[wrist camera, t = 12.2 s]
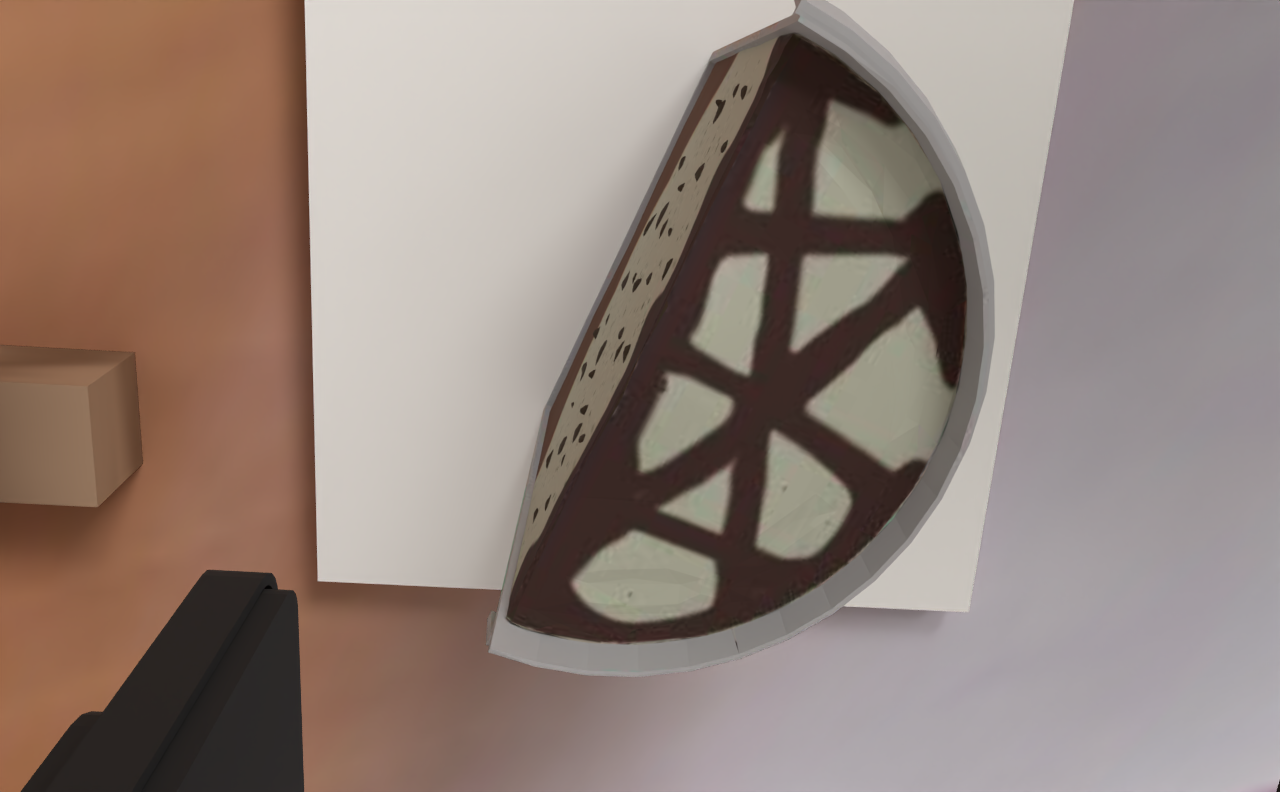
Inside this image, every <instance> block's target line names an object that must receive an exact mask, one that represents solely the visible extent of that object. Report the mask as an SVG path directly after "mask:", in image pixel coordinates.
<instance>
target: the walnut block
mask: <svg viewBox="0 0 1280 792" xmlns="http://www.w3.org/2000/svg"><path fill="white" fill-rule="evenodd" d="M142 464H143V456H142V443H141V429H140V415H139V402H138V388H137V374H136V361H135V352H120V351H101V350H83V349H65V348H47V347H28V346H10V345H0V502H4V503H24V504H44V505H64V506H84V507H98V506H99V505H101V504H102V503H103V502H104V501H105V500H106V499H107V498H108V497H109V496H110V495H111V494H112V493H113V492H114V491H115V490H116V489H117V488H118V487H119V486H120V485H121V484H122V483H123V482H124V481H125V480H126V479H127V478H128V477H129V476H130V475H131V474H133V473H134V472H135V471H136V470H137V469H138V468H139V467H140V466H141V465H142Z"/></svg>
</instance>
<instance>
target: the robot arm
mask: <svg viewBox="0 0 1280 792" xmlns="http://www.w3.org/2000/svg"><path fill="white" fill-rule="evenodd" d="M21 792H304V773H303V744H302V714H301V684H300V655H299V625H298V604H297V597H296V594H295V592H294V591H293V590H278V587H277V583H276V579H275V577H274V576H273V574H272V573H259V572H241V571H222V570H207V571H206V572H205V573H204V574H203V575H202V576H201V577H200V578H199V580H198V581H197V583H196V584H195V585H194V587H193V588H192V589H191V591H190V592H189V594H188V595H187V596H186V598H185V599H184V601H183V602H182V603H181V605H180V606H179V607H178V609H177V610H176V612H175V613H174V614H173V616H172V617H171V619H170V620H169V621H168V623H167V624H166V625H165V627H164V628H163V630H162V631H161V632H160V634H159V635H158V636H157V638H156V639H155V641H154V642H153V643H152V645H151V646H150V648H149V649H148V650H147V652H146V653H145V654H144V656H143V657H142V659H141V660H140V661H139V663H138V664H137V666H136V667H135V668H134V670H133V671H132V672H131V674H130V675H129V677H128V678H127V679H126V681H125V682H124V684H123V685H122V686H121V688H120V689H119V690H118V692H117V693H116V695H115V696H114V697H113V699H112V700H111V701H110V703H109V704H108V706H107V707H106V708H105V710H104V711H103V712H94V711H91V712H88V713H85V714H82V715H81V716H80V717H79V718H78V719H77V720H76V721H75V722H74V723H73V724H72V725H71V726H70V727H69V728H68V730H67V731H66V732H65V734H64V735H63V736H62V737H61V739H60V740H59V741H58V743H57V744H56V745H55V747H54V748H53V749H52V751H51V752H50V753H49V755H48V756H47V757H46V759H45V760H44V761H43V763H42V764H41V765H40V767H39V768H38V769H37V771H36V772H35V773H34V775H33V776H32V777H31V779H30V780H29V781H28V783H27V784H26V785H25V787H24V788H23V789H22V791H21ZM1276 792H1280V781H1279V785H1278V788H1277V791H1276Z"/></svg>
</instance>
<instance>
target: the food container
mask: <svg viewBox="0 0 1280 792" xmlns="http://www.w3.org/2000/svg"><path fill="white" fill-rule="evenodd" d="M794 2H795V6H796V8H795V10H794V12H793V14H792V15H791V16H789V17H787V18H785V19H783V20H780V21H778V22H776V23H774V24H772V25H770V26H768V27H765V28H763V29H761V30H759V31H757V32H755V33H752V34H750V35H748V36H746V37H744V38H742V39H740V40H737V41H735V42H733V43H731V44H729V45H727V46H724V47H722V48H720V49H718V50H716V51H714V52H713V53H712V55H711V57H710V59H709V61H708V63H707V65H706V68H705V70H704V72H703V74H702V76H701V78H700V80H699V82H698V84H697V87H696V89H695V91H694V93H693V95H692V97H691V99H690V101H689V104H688V106H687V108H686V110H685V112H684V114H683V116H682V118H681V120H680V123H679V125H678V127H677V129H676V131H675V133H674V135H673V137H672V139H671V142H670V144H669V146H668V148H667V150H666V152H665V154H664V156H663V158H662V161H661V163H660V165H659V167H658V169H657V171H656V173H655V175H654V177H653V180H652V182H651V184H650V186H649V188H648V190H647V192H646V194H645V196H644V199H643V201H642V203H641V205H640V207H639V209H638V211H637V213H636V215H635V218H634V220H633V222H632V224H631V226H630V228H629V230H628V232H627V234H626V237H625V239H624V241H623V243H622V245H621V247H620V249H619V251H618V253H617V256H616V258H615V260H614V262H613V264H612V266H611V268H610V270H609V272H608V275H607V277H606V279H605V281H604V283H603V285H602V287H601V289H600V291H599V294H598V296H597V298H596V300H595V302H594V304H593V306H592V308H591V310H590V313H589V315H588V317H587V319H586V321H585V323H584V325H583V327H582V329H581V332H580V334H579V336H578V338H577V340H576V342H575V344H574V346H573V348H572V351H571V353H570V355H569V357H568V359H567V361H566V363H565V365H564V367H563V370H562V372H561V374H560V376H559V378H558V380H557V382H556V384H555V386H554V389H553V391H552V393H551V395H550V397H549V399H548V401H547V403H546V406H545V408H544V410H543V415H542V419H541V423H540V428H539V432H538V436H537V440H536V445H535V449H534V453H533V458H532V462H531V466H530V470H529V475H528V479H527V483H526V488H525V492H524V496H523V500H522V505H521V509H520V513H519V517H518V522H517V526H516V530H515V535H514V539H513V543H512V547H511V552H510V556H509V560H508V565H507V569H506V573H505V577H504V582H503V586H502V590H501V595H500V599H499V603H498V607H497V612H494V611H491V612H490V614H489V616H488V619H487V635H486V645H488V646H489V649H488V652H489V653H492V654H495V655H499V656H502V657H505V658H508V659H511V660H515V661H518V662H521V663H524V664H528V665H531V666H534V667H539V668H545V669H551V670H557V671H563V672H569V673H575V674H581V675H589V676H621V677H643V676H652V675H662V674H671V673H680V672H690V671H694V670H698V669H702V668H706V667H710V666H714V665H718V664H722V663H726V662H730V661H734V660H738V659H741V658H744V657H746V656H749V655H751V654H754V653H756V652H759V651H761V650H764V649H766V648H769V647H771V646H774V645H776V644H779V643H781V642H784V641H786V640H789V639H790V638H792V637H794V636H796V635H797V634H799V633H801V632H802V631H804V630H806V629H808V628H809V627H811V626H813V625H815V624H816V623H818V622H820V621H822V620H823V619H825V618H827V617H829V616H830V615H832V614H834V613H835V612H836V611H838V610H839V609H840V608H841V607H843V606H844V605H845V604H846V603H848V602H849V601H850V600H852V599H853V598H854V597H855V596H857V595H858V594H859V593H860V592H862V591H863V590H864V589H866V588H867V587H868V586H869V585H871V584H872V583H873V582H875V581H876V580H877V579H878V577H879V576H880V575H881V574H882V573H883V572H884V571H885V570H886V569H887V568H888V567H889V566H890V565H891V564H892V563H893V562H894V561H895V560H896V559H897V558H898V556H899V555H900V554H901V553H902V552H903V551H904V550H905V549H906V548H907V547H908V546H909V545H910V544H911V543H912V541H913V540H914V538H915V537H916V536H917V534H918V533H919V531H920V530H921V528H922V527H923V526H924V524H925V523H926V521H927V520H928V518H929V517H930V516H931V514H932V513H933V511H934V510H935V508H936V507H937V506H938V504H939V503H940V501H941V500H942V498H943V496H944V494H945V492H946V490H947V488H948V486H949V484H950V482H951V480H952V478H953V476H954V474H955V472H956V470H957V469H958V467H959V465H960V463H961V461H962V459H963V457H964V455H965V453H966V451H967V449H968V447H969V445H970V442H971V439H972V436H973V432H974V429H975V426H976V423H977V420H978V417H979V414H980V411H981V407H982V404H983V401H984V398H985V395H986V392H987V385H988V378H989V372H990V365H991V359H992V352H993V346H994V339H995V308H994V277H993V271H992V266H991V260H990V254H989V249H988V243H987V237H986V232H985V226H984V223H983V220H982V217H981V214H980V211H979V208H978V206H977V203H976V200H975V197H974V194H973V191H972V189H971V186H970V183H969V180H968V177H967V174H966V172H965V169H964V167H963V164H962V162H961V160H960V157H959V155H958V153H957V151H956V148H955V147H954V145H953V143H952V141H951V140H950V138H949V136H948V134H947V132H946V131H945V129H944V127H943V125H942V124H941V122H940V120H939V118H938V117H937V115H936V113H935V111H934V110H933V108H932V106H931V104H930V103H929V101H928V99H927V97H926V96H925V95H924V94H923V93H922V91H921V90H920V89H919V88H918V86H917V85H916V84H915V83H914V81H913V80H912V79H911V78H910V76H909V75H908V74H907V73H906V72H905V70H904V69H903V68H902V67H901V65H900V64H899V63H898V62H897V60H896V59H895V58H894V57H893V56H892V54H891V53H890V52H889V51H888V50H887V49H886V48H885V47H883V46H882V45H881V44H880V43H879V42H878V41H877V40H876V39H874V38H873V37H872V36H871V35H870V34H869V33H868V32H866V31H865V30H864V29H863V28H862V27H861V26H860V25H858V24H857V23H856V22H855V21H854V20H853V19H852V18H851V17H849V16H848V15H847V14H846V13H845V12H844V11H842V10H841V9H839V8H837V7H836V6H834V5H833V4H831V3H829V2H828V1H826V0H794Z"/></svg>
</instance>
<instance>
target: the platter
mask: <svg viewBox="0 0 1280 792" xmlns="http://www.w3.org/2000/svg"><path fill="white" fill-rule="evenodd" d="M826 1H828V2H829V3H831V4H833V5H834V6H836V7H837V8H839V9H841V10H842V11H844V12H845V13H846V14H847V15H848V16H849V17H851V18H852V19H853V20H854V21H855V22H856V23H857V24H858V25H860V26H861V27H862V28H863V29H864V30H865V31H866V32H868V33H869V34H870V35H871V36H872V37H873V38H874V39H876V40H877V41H878V42H879V43H880V44H881V45H882V46H883V47H885V48H886V49H887V50H888V51H889V52H890V53H891V54H892V56H893V57H894V58H895V59H896V60H897V62H898V63H899V64H900V65H901V67H902V68H903V69H904V70H905V72H906V73H907V74H908V75H909V76H910V78H911V79H912V80H913V81H914V83H915V84H916V85H917V86H918V88H919V89H920V90H921V91H922V93H923V94H924V95H925V96H926V97H927V99H928V101H929V103H930V104H931V106H932V108H933V110H934V111H935V113H936V115H937V117H938V118H939V120H940V122H941V124H942V125H943V127H944V129H945V131H946V132H947V134H948V136H949V138H950V140H951V141H952V143H953V145H954V147H955V148H956V151H957V153H958V155H959V157H960V160H961V162H962V164H963V167H964V169H965V172H966V174H967V177H968V180H969V183H970V186H971V189H972V191H973V194H974V197H975V200H976V203H977V206H978V208H979V211H980V214H981V217H982V220H983V223H984V226H985V232H986V237H987V243H988V249H989V254H990V260H991V266H992V271H993V277H994V308H995V339H994V346H993V352H992V359H991V365H990V372H989V378H988V385H987V392H986V395H985V398H984V401H983V404H982V407H981V411H980V414H979V417H978V420H977V423H976V426H975V429H974V432H973V436H972V439H971V442H970V445H969V447H968V449H967V451H966V453H965V455H964V457H963V459H962V461H961V463H960V465H959V467H958V469H957V470H956V472H955V474H954V476H953V478H952V480H951V482H950V484H949V486H948V488H947V490H946V492H945V494H944V496H943V498H942V500H941V501H940V503H939V504H938V506H937V507H936V508H935V510H934V511H933V513H932V514H931V516H930V517H929V518H928V520H927V521H926V523H925V524H924V526H923V527H922V528H921V530H920V531H919V533H918V534H917V536H916V537H915V538H914V540H913V541H912V543H911V544H910V545H909V546H908V547H907V548H906V549H905V550H904V551H903V552H902V553H901V554H900V555H899V556H898V558H897V559H896V560H895V561H894V562H893V563H892V564H891V565H890V566H889V567H888V568H887V569H886V570H885V571H884V572H883V573H882V574H881V575H880V576H879V577H878V579H877V580H876V581H875V582H873V583H872V584H871V585H869V586H868V587H867V588H866V589H864V590H863V591H862V592H860V593H859V594H858V595H857V596H855V597H854V598H853V599H852V600H850V601H849V602H848V603H846V604H845V605H844V606H846V607H867V608H888V609H909V610H930V611H951V612H969V609H970V603H971V597H972V591H973V585H974V579H975V574H976V568H977V562H978V556H979V550H980V545H981V539H982V533H983V527H984V521H985V516H986V510H987V504H988V498H989V492H990V487H991V481H992V475H993V469H994V463H995V457H996V452H997V446H998V440H999V434H1000V428H1001V423H1002V417H1003V411H1004V405H1005V399H1006V394H1007V388H1008V382H1009V376H1010V370H1011V365H1012V359H1013V353H1014V347H1015V341H1016V335H1017V330H1018V324H1019V318H1020V312H1021V306H1022V301H1023V295H1024V289H1025V283H1026V277H1027V272H1028V266H1029V260H1030V254H1031V248H1032V243H1033V237H1034V231H1035V225H1036V219H1037V213H1038V208H1039V202H1040V196H1041V190H1042V184H1043V179H1044V173H1045V167H1046V161H1047V155H1048V150H1049V144H1050V138H1051V132H1052V126H1053V120H1054V115H1055V109H1056V103H1057V97H1058V91H1059V86H1060V80H1061V74H1062V68H1063V62H1064V57H1065V51H1066V45H1067V39H1068V33H1069V28H1070V22H1071V16H1072V10H1073V4H1074V0H826ZM795 8H796V6H795V2H794V0H305V37H306V82H307V126H308V170H309V214H310V258H311V302H312V346H313V390H314V434H315V479H316V523H317V567H318V581H325V582H346V583H367V584H388V585H409V586H430V587H450V588H471V589H492V590H502V586H503V582H504V577H505V573H506V569H507V565H508V560H509V556H510V552H511V547H512V543H513V539H514V535H515V530H516V526H517V522H518V517H519V513H520V509H521V505H522V500H523V496H524V492H525V488H526V483H527V479H528V475H529V470H530V466H531V462H532V458H533V453H534V449H535V445H536V440H537V436H538V432H539V428H540V423H541V419H542V415H543V410H544V408H545V406H546V403H547V401H548V399H549V397H550V395H551V393H552V391H553V389H554V386H555V384H556V382H557V380H558V378H559V376H560V374H561V372H562V370H563V367H564V365H565V363H566V361H567V359H568V357H569V355H570V353H571V351H572V348H573V346H574V344H575V342H576V340H577V338H578V336H579V334H580V332H581V329H582V327H583V325H584V323H585V321H586V319H587V317H588V315H589V313H590V310H591V308H592V306H593V304H594V302H595V300H596V298H597V296H598V294H599V291H600V289H601V287H602V285H603V283H604V281H605V279H606V277H607V275H608V272H609V270H610V268H611V266H612V264H613V262H614V260H615V258H616V256H617V253H618V251H619V249H620V247H621V245H622V243H623V241H624V239H625V237H626V234H627V232H628V230H629V228H630V226H631V224H632V222H633V220H634V218H635V215H636V213H637V211H638V209H639V207H640V205H641V203H642V201H643V199H644V196H645V194H646V192H647V190H648V188H649V186H650V184H651V182H652V180H653V177H654V175H655V173H656V171H657V169H658V167H659V165H660V163H661V161H662V158H663V156H664V154H665V152H666V150H667V148H668V146H669V144H670V142H671V139H672V137H673V135H674V133H675V131H676V129H677V127H678V125H679V123H680V120H681V118H682V116H683V114H684V112H685V110H686V108H687V106H688V104H689V101H690V99H691V97H692V95H693V93H694V91H695V89H696V87H697V84H698V82H699V80H700V78H701V76H702V74H703V72H704V70H705V68H706V65H707V63H708V61H709V59H710V57H711V55H712V53H713V52H714V51H716V50H718V49H720V48H722V47H724V46H727V45H729V44H731V43H733V42H735V41H737V40H740V39H742V38H744V37H746V36H748V35H750V34H752V33H755V32H757V31H759V30H761V29H763V28H765V27H768V26H770V25H772V24H774V23H776V22H778V21H780V20H783V19H785V18H787V17H789V16H791V15H792V14H793V12H794V10H795Z"/></svg>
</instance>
